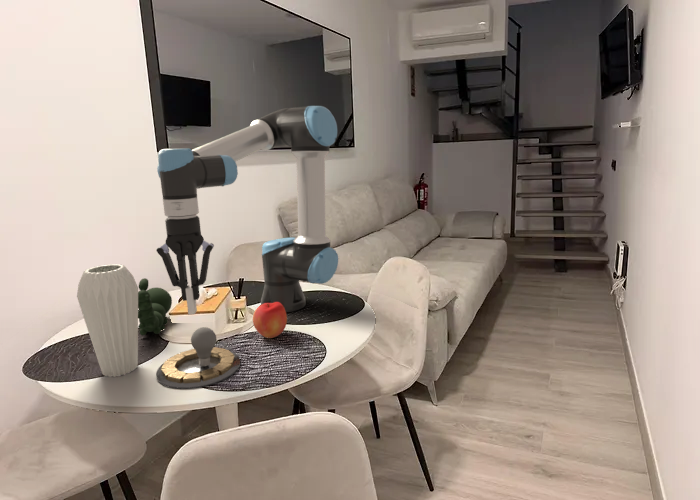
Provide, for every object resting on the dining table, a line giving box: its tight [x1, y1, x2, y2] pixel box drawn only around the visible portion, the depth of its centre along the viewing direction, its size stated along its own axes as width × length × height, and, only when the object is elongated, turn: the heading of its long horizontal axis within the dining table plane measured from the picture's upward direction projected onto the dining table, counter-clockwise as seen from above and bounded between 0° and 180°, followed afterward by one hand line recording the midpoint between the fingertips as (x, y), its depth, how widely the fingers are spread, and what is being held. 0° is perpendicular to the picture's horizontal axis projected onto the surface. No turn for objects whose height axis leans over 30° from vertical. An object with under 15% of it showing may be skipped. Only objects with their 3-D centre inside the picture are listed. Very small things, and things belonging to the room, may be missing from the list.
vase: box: [76, 263, 139, 378], centre depth 117 cm, size 13×13×26 cm
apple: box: [252, 302, 288, 339], centre depth 136 cm, size 10×10×10 cm
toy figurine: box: [138, 277, 173, 336], centre depth 145 cm, size 9×19×25 cm
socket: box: [155, 346, 241, 390], centre depth 118 cm, size 20×20×2 cm
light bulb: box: [190, 326, 217, 367], centre depth 117 cm, size 6×6×10 cm
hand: (192, 312), depth 115 cm, fingers closed
